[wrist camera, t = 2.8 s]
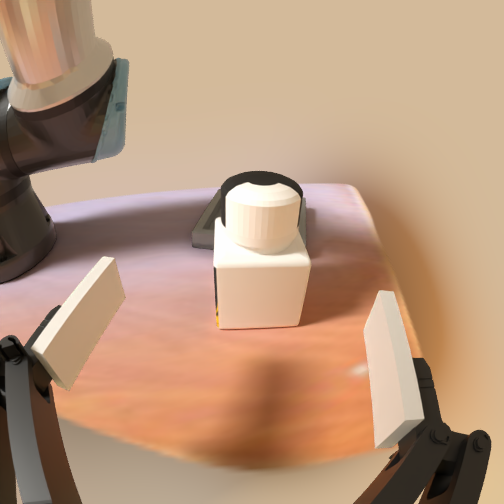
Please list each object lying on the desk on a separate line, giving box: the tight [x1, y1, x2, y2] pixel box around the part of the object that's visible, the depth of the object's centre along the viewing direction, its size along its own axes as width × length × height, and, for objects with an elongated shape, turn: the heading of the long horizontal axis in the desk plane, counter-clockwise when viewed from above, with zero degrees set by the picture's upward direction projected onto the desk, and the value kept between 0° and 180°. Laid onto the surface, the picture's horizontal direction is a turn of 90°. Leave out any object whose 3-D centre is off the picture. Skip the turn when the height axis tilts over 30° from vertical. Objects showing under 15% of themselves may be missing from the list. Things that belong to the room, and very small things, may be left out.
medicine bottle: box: [214, 171, 311, 329], centre depth 25 cm, size 7×7×12 cm
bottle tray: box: [191, 189, 306, 250], centre depth 39 cm, size 13×13×2 cm
